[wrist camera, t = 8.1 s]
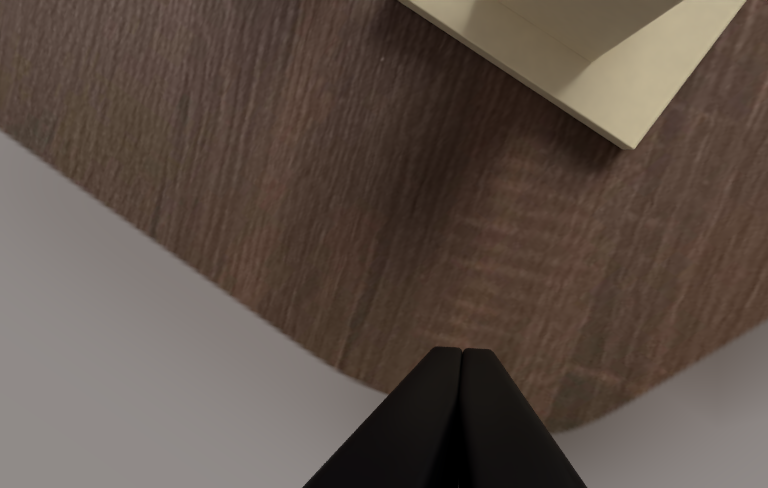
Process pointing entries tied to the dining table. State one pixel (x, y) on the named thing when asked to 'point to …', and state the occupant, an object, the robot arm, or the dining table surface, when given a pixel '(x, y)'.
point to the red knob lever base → (591, 51)
